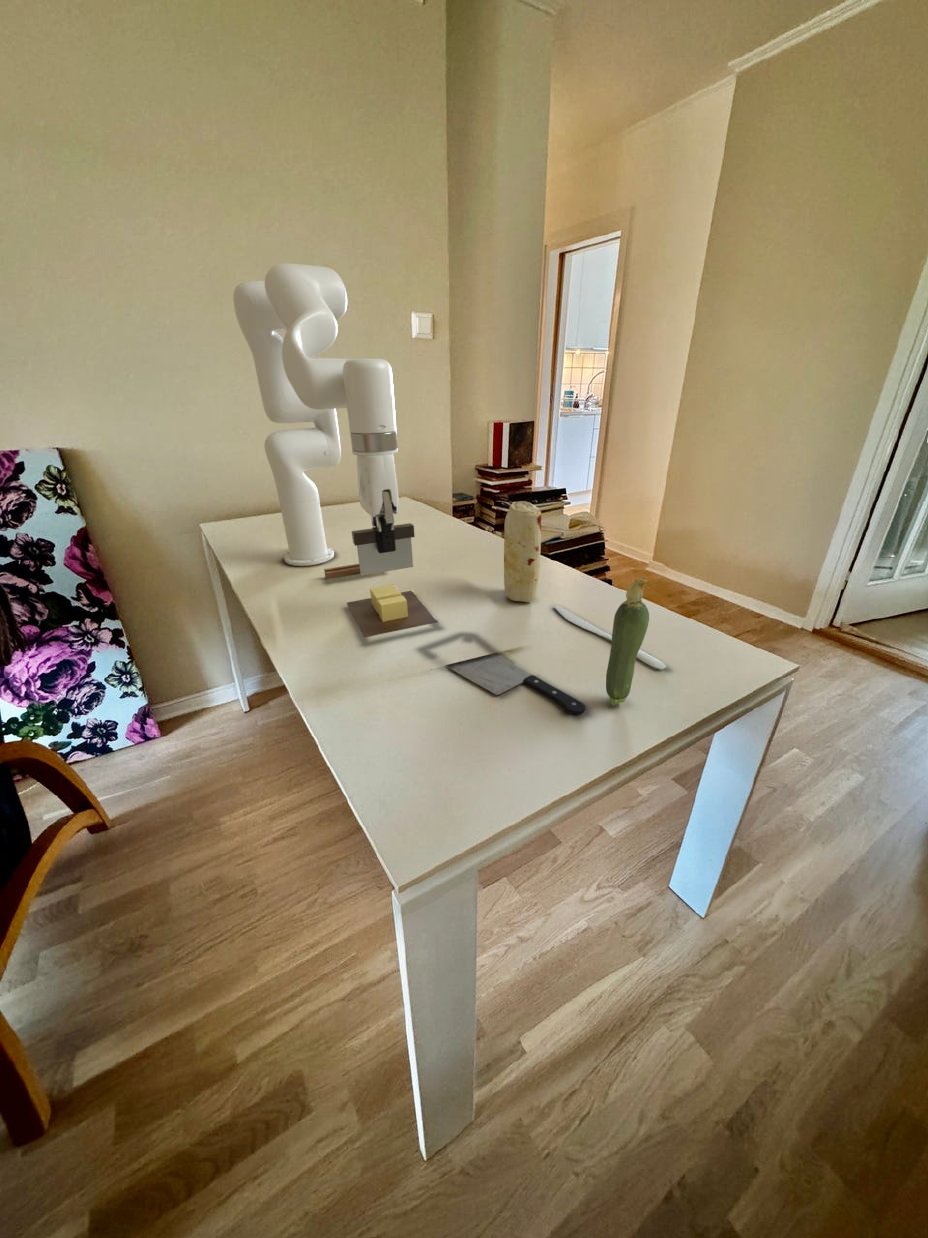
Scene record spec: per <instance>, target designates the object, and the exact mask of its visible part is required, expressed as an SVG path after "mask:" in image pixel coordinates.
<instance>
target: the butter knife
mask: <svg viewBox="0 0 928 1238" xmlns="http://www.w3.org/2000/svg"><path fill="white" fill-rule="evenodd" d="M554 609H555V610H556V611H557V612H558V613H559V614H560V615H561V616H562V617H563V618H564V619H565V620H567V621H569V622H570V623H572V624H574V625H576V626H578V627H580V628H582V629H584V630H587V631H589V632H591V633H593V634H596V635H598V636H600V637H603V638H605V639H606V640H609V641H610V642H612V634H609V633H607V632H606V631H604V630H602V629H600V628H598V627H597V626H595V625H594V624H592V623H591V622H588V621H586V620H585V619H583V618H581V617H580V616H578V615H576V614H575V613H572V612H571V611H568V610H567V609H565V608H563V606H560V605H555V606H554ZM636 659H639V660H640V661H641V662H643V663H645V664H646V665H649V666H651V667H652V668H654V669H658V670H664V669H666V668H667V665H666V664H665V663H664V662H663V661H661V660H659V659H658V658H657V657H654V656H652V655H651V654H649V653H647V652H645V651H643V650H641V649H639V651H638V654H637V657H636Z"/></svg>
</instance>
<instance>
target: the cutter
mask: <svg viewBox="0 0 928 1238" xmlns="http://www.w3.org/2000/svg"><path fill="white" fill-rule="evenodd" d="M376 531H378V530H377V528H372V527H371V528H366V529H365V528H364V529H358V530H352V531H351V538H352V544H353V545H354V547H355V546H356V550H357V558H358V564H359V566H360V574H359V575H360V577H362V576H369V575H374V574H375V575H376V574H379V573H380V574H381V573H384V572H386V573H387V572H392V571H398V570H402V569H403V570H404V569H410V568H414V560H413V558H414V557H413V547H412V538H415V537H416V535H415V526H414V524H413V523H412V522H410V523H402V524H394V534H395V546H396V550H395V551H393V552H386V553H379V552H378V548H377V539H376Z"/></svg>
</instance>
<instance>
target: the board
mask: <svg viewBox="0 0 928 1238" xmlns="http://www.w3.org/2000/svg"><path fill="white" fill-rule="evenodd" d="M400 593H401V596H404V598H405V599H406V600H407V609H408V617H405V618H400V619H395V620H390V621H385V622H383V621H382V620H381V618H380V617H379V614H378V613H377V612H376V610H375V608H374V607H373V605H372V602H371V597H370V598H364V599H358V600H352V601H348V602H346V605H347V606H348V608H349V611H350V612H351V614H352V616H353V618H354V621H355V622H356V624H357V626H358V628H359V630H360V632H361V634H362V636H363V637H364V638H370V637H373V636H379V635H383V634H389V633H392V632H398V631H403V630H407V629H412V628H416V627H421V626H426V625H430V624H435V623H438V620H437V619H436V617H435V616H434V615H433V614H432V613H431V612H430V611H429V609H428V608H427V606H426V605H424V603H423V602H422V600H420V599H419V597H418V596H417V595H416V594H415V593H414V591H413V590H407V591H402V592H401V591H400Z"/></svg>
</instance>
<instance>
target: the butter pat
mask: <svg viewBox="0 0 928 1238" xmlns="http://www.w3.org/2000/svg"><path fill="white" fill-rule="evenodd" d="M378 608H379V617H380V618H381V620H382V621H383V622H385V621H390V620H395V619H400V618H405V617H408V609H407V600H406V599H405V598H404V596H398V597H393V598H387V599H382V600H378Z"/></svg>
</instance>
